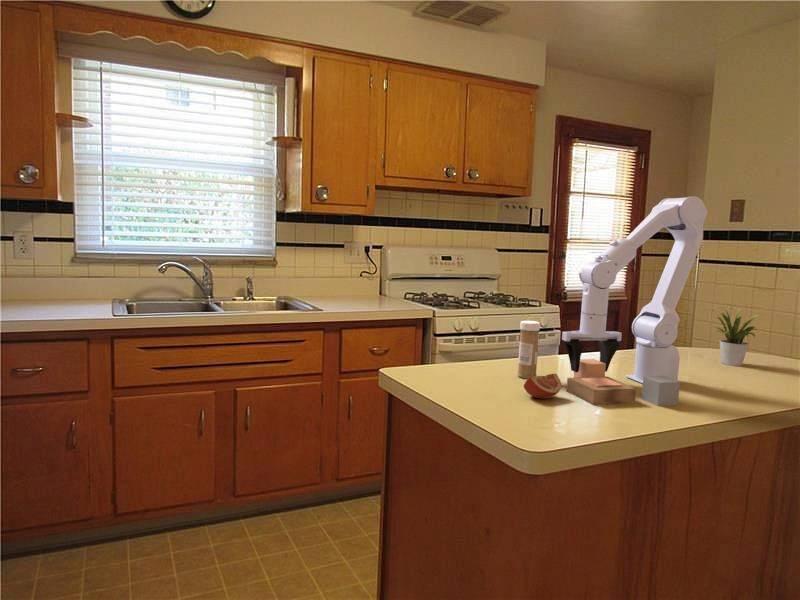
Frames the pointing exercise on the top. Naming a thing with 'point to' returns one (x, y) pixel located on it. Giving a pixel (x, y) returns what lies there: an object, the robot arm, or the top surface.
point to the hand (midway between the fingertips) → (589, 370)
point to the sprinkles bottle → (528, 349)
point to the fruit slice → (543, 386)
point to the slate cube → (660, 390)
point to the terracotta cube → (590, 368)
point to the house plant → (734, 340)
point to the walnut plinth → (601, 390)
